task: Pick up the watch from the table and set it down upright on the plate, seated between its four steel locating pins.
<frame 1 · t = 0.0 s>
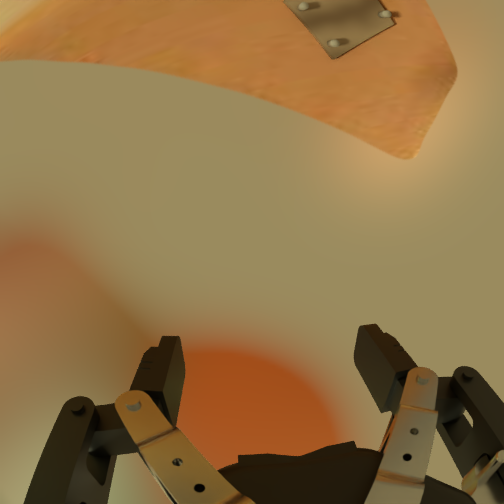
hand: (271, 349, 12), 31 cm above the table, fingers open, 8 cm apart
pin plate: (340, 10, 26), on the table
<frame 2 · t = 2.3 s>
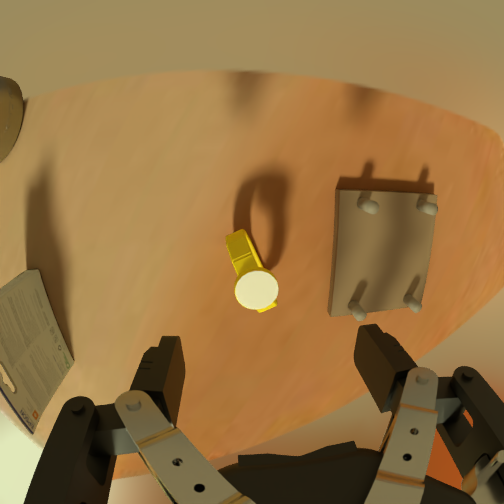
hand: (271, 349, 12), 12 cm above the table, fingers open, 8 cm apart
ink box: (50, 318, 25), on the table
pin plate: (383, 252, 25), on the table
watch: (249, 257, 24), on the table
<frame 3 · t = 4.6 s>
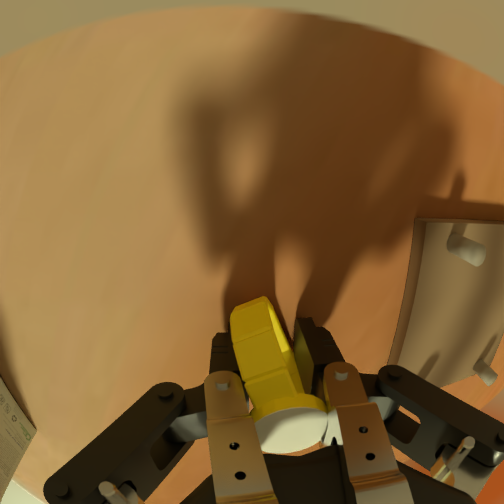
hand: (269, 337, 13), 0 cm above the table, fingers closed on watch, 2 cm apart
pin plate: (461, 308, 14), on the table
watch: (268, 331, 14), on the table, touching gripper
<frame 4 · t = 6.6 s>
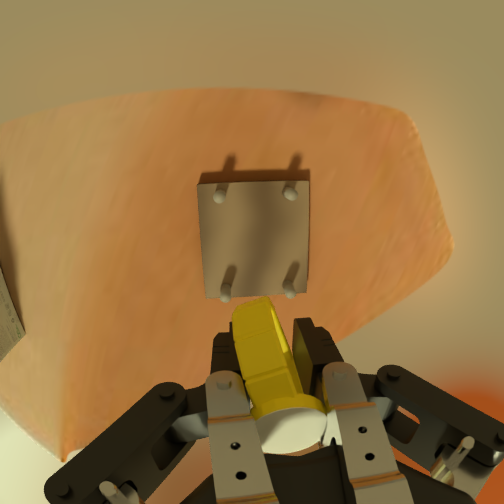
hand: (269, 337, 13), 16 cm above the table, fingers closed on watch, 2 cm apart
ink box: (7, 297, 28), on the table
pin plate: (254, 239, 28), on the table
watch: (268, 332, 14), point 15 cm above the table, touching gripper
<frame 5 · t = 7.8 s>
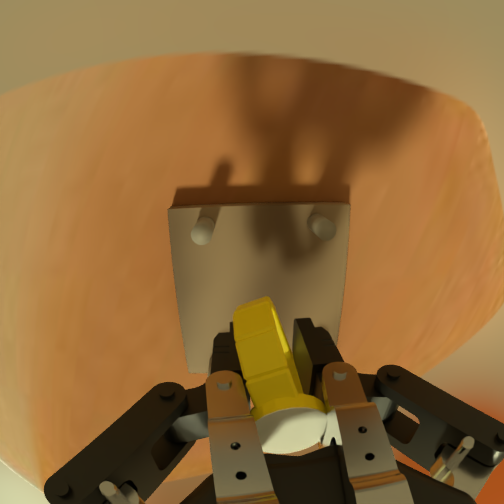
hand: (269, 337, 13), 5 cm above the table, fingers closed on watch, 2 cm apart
pin plate: (260, 292, 18), on the table
watch: (269, 332, 14), point 4 cm above the table, touching gripper
when the fingers open (3 cm above the table, at t = 8.8 s): watch drops 1 cm, resting on pin plate.
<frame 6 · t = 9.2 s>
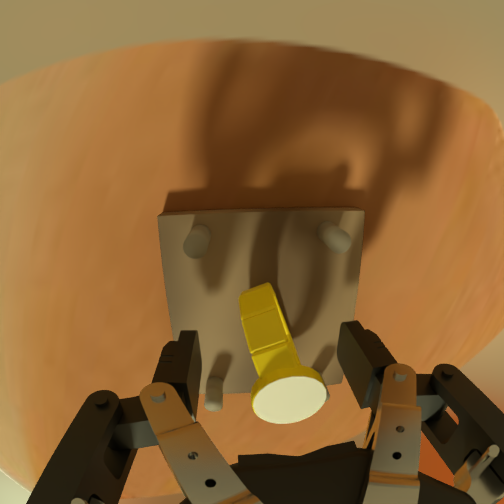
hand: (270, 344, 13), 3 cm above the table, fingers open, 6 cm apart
pin plate: (263, 308, 16), on the table
watch: (270, 317, 15), point 1 cm above the table, touching pin plate
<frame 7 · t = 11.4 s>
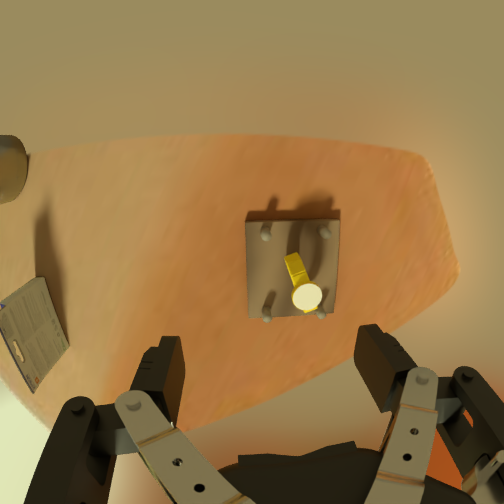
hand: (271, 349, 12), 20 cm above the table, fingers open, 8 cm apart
ink box: (52, 312, 34), on the table
pin plate: (291, 268, 33), on the table
watch: (295, 271, 32), point 1 cm above the table, touching pin plate
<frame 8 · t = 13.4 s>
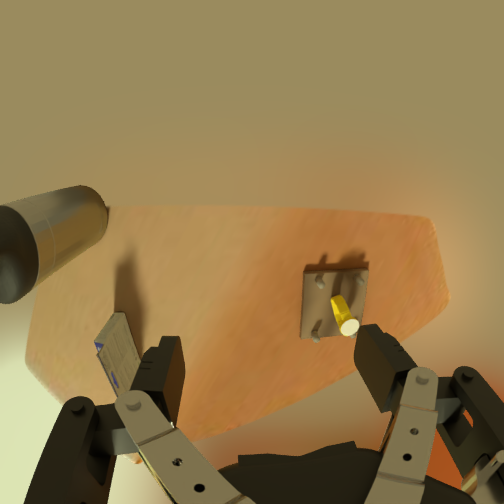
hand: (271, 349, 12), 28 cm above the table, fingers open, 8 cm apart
ink box: (128, 340, 44), on the table
pin plate: (333, 303, 44), on the table
watch: (336, 306, 43), point 1 cm above the table, touching pin plate
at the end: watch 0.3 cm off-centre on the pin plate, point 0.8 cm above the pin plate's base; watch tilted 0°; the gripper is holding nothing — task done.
